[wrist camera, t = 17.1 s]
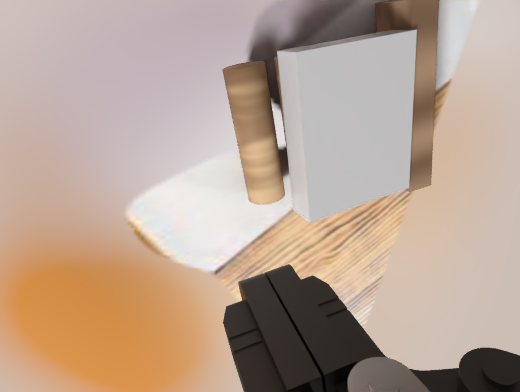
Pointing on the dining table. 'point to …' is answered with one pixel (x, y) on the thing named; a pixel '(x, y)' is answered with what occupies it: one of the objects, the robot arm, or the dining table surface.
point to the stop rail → (417, 76)
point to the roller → (255, 131)
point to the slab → (348, 120)
